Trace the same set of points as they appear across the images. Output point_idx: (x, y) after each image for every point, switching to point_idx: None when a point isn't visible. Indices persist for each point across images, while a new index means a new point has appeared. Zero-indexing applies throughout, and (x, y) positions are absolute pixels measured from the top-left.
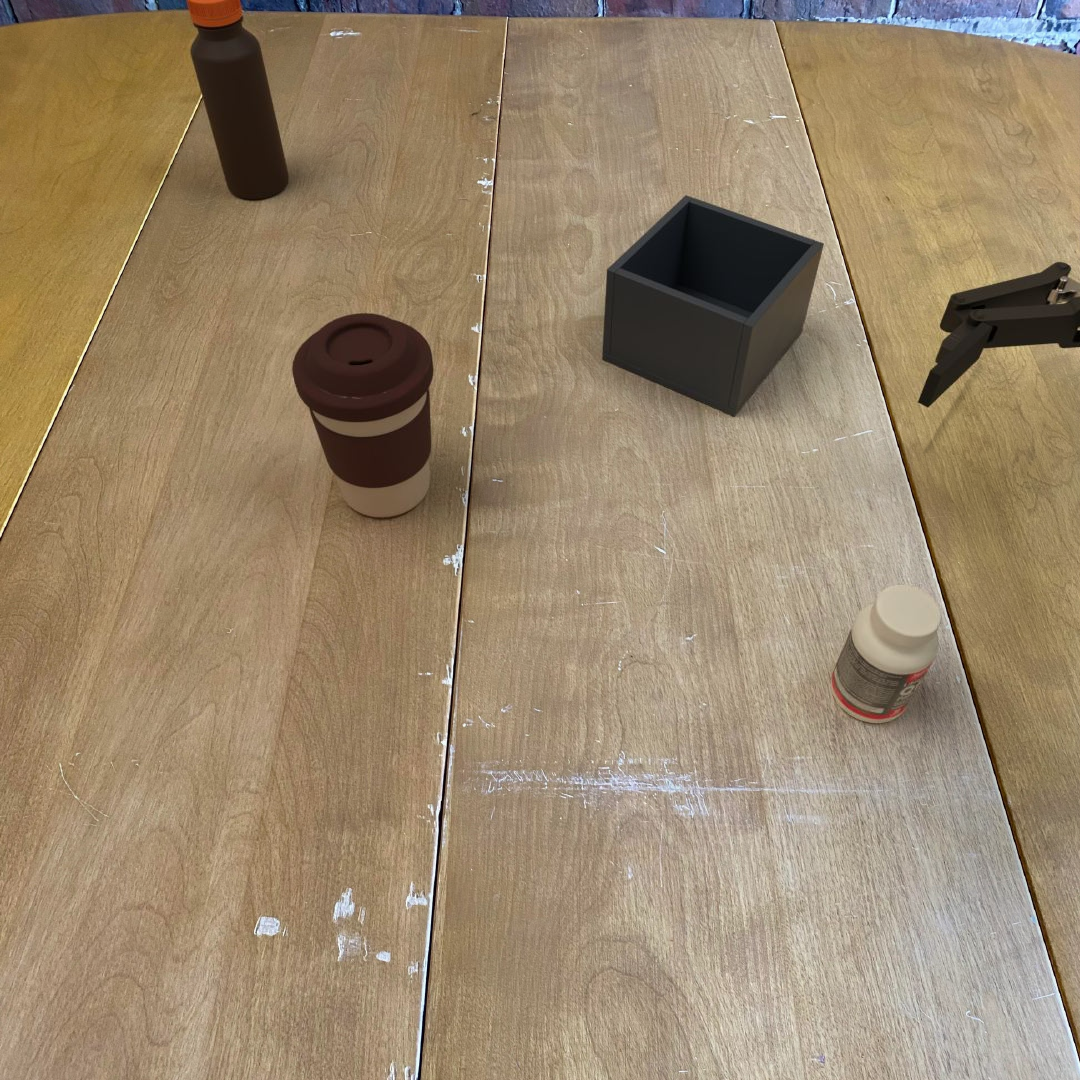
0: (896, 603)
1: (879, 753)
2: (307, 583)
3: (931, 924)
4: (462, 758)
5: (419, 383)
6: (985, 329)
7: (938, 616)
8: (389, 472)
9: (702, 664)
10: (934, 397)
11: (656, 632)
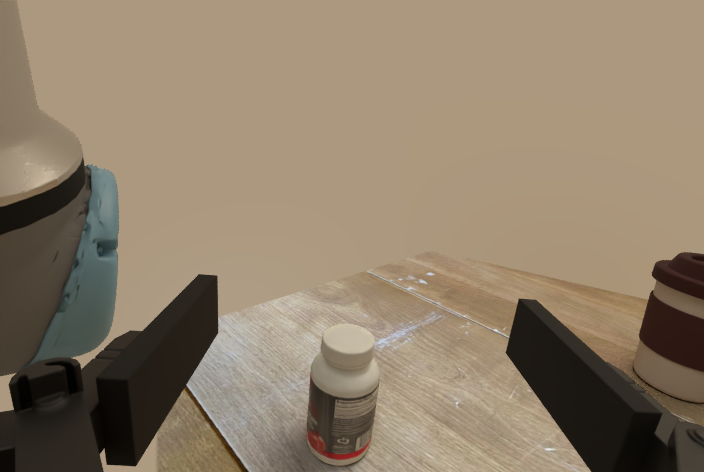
0: (359, 337)
1: (304, 405)
2: (585, 331)
3: (237, 350)
4: (452, 315)
5: (682, 278)
6: (627, 396)
7: (327, 342)
8: (643, 327)
9: (433, 394)
10: (512, 346)
11: (472, 395)
